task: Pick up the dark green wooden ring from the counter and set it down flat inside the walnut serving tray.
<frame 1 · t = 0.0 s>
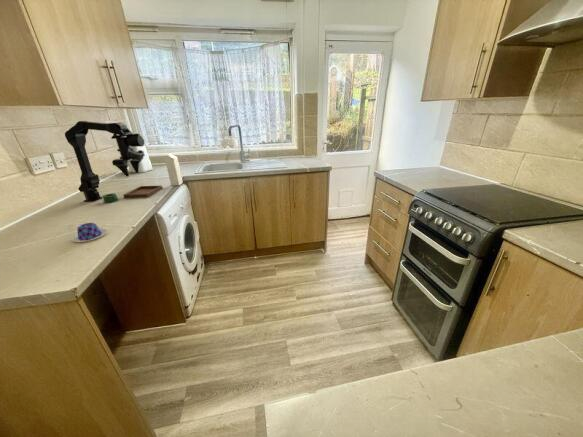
hand: (132, 174, 141), 15 cm above the countertop, tool pointing down, fingers open, 9 cm apart
tray: (144, 193, 157), on the countertop
checkered hat: (90, 236, 102), on the countertop
ring: (111, 200, 145), on the countertop
plastic bottle: (141, 171, 219), on the countertop
milk: (177, 184, 175), on the countertop
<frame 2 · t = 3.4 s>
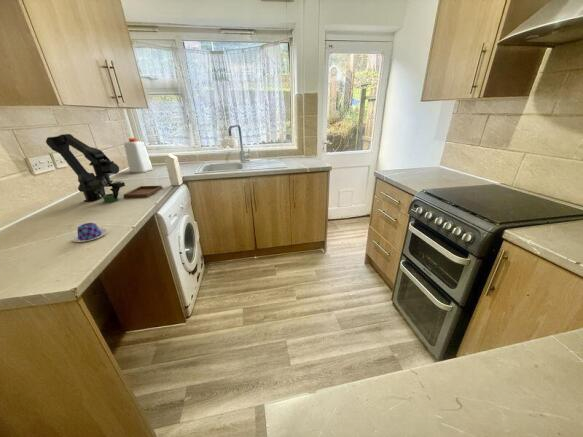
hand: (110, 199, 144), 1 cm above the countertop, tool pointing down, fingers closed on ring, 6 cm apart
ring: (111, 200, 145), on the countertop, touching gripper
everything else where it was.
when the fingers open (2 cm above the countertop, at t = 9.4 s): ring stays where it is, resting on tray.
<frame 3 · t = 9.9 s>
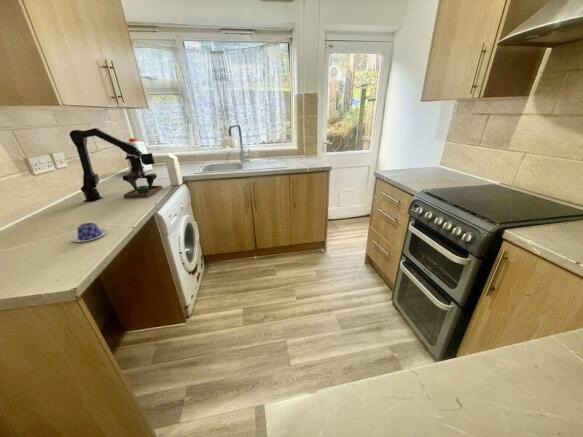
hand: (143, 190, 156), 2 cm above the countertop, tool pointing down, fingers open, 9 cm apart
ring: (144, 192, 157), point 1 cm above the countertop, touching tray
everything else where it was.
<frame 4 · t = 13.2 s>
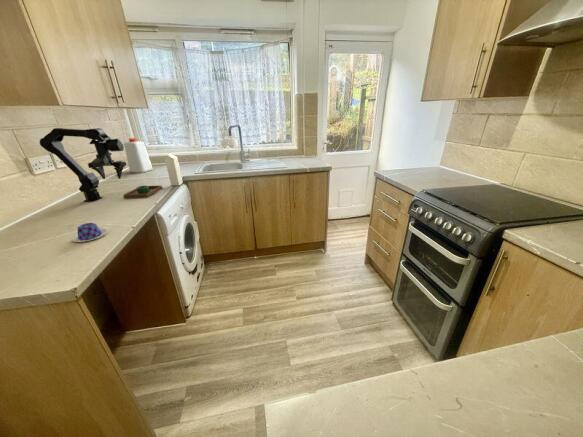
hand: (112, 178, 144), 12 cm above the countertop, tool pointing down, fingers open, 9 cm apart
nothing on the countertop moved.
at the end: ring inside the target area in the tray (0.1 cm from its centre), point 0.6 cm above the tray's base; ring tilted 0°; the gripper is holding nothing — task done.
